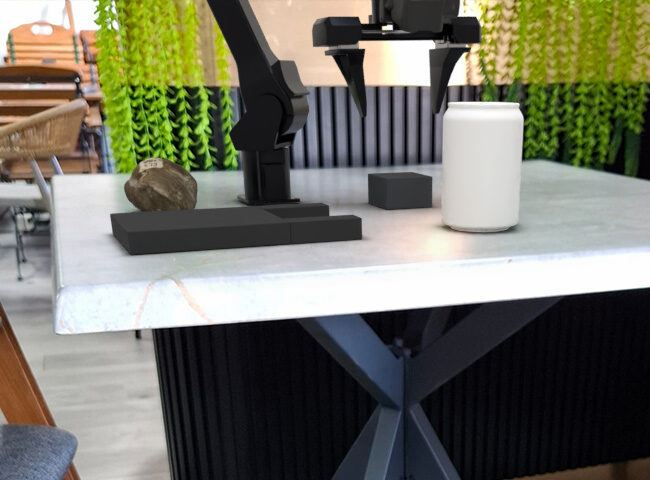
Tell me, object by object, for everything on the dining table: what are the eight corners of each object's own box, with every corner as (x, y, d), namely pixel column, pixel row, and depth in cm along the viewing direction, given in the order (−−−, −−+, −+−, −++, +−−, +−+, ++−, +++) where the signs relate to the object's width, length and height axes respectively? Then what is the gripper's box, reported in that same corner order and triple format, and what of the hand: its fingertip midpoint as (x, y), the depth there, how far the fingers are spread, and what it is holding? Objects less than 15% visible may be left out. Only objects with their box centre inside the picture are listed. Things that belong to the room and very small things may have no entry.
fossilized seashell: (123, 186, 104) (111, 213, 96) (147, 135, 102) (136, 158, 93) (184, 219, 107) (177, 248, 99) (208, 170, 105) (203, 196, 97)
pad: (368, 203, 111) (367, 173, 109) (412, 201, 113) (412, 171, 112) (386, 209, 106) (386, 178, 104) (432, 207, 108) (432, 176, 107)
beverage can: (460, 235, 90) (463, 104, 84) (429, 223, 96) (430, 101, 91) (531, 231, 92) (539, 104, 87) (496, 219, 99) (501, 101, 94)
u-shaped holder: (112, 234, 89) (109, 213, 88) (322, 221, 97) (321, 202, 96) (130, 255, 79) (127, 231, 78) (362, 239, 87) (362, 217, 87)
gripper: (339, -51, 88) (348, 120, 95) (506, -47, 95) (503, 114, 101) (305, -38, 97) (316, 117, 104) (459, -35, 104) (460, 111, 111)
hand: (400, 115), depth 105 cm, fingers open, 9 cm apart
